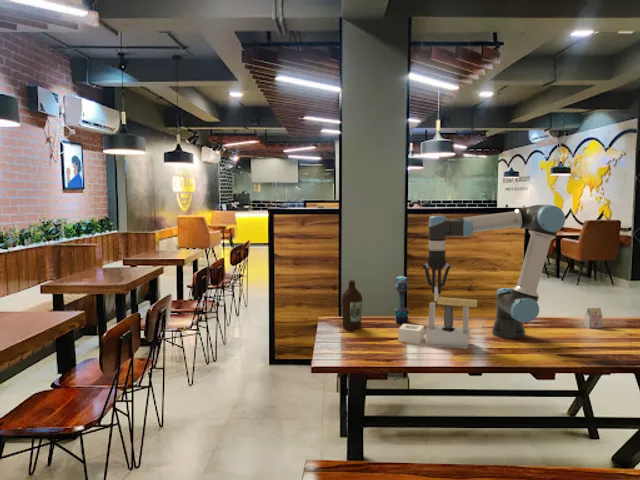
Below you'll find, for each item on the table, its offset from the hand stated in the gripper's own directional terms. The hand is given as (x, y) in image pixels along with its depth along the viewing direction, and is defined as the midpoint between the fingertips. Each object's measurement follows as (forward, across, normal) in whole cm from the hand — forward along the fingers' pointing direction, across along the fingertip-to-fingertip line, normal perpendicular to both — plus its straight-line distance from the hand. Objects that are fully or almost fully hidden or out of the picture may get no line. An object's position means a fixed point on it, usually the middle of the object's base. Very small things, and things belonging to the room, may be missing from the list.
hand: (436, 300), depth 216 cm
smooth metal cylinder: (+18, -6, 0) cm, 19 cm away
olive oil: (+20, +45, -9) cm, 50 cm away
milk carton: (+20, -70, -59) cm, 94 cm away
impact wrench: (+20, +25, -33) cm, 46 cm away
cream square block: (+20, +12, 0) cm, 23 cm away
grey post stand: (+20, -6, 0) cm, 20 cm away
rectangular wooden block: (+1, -9, 0) cm, 9 cm away
